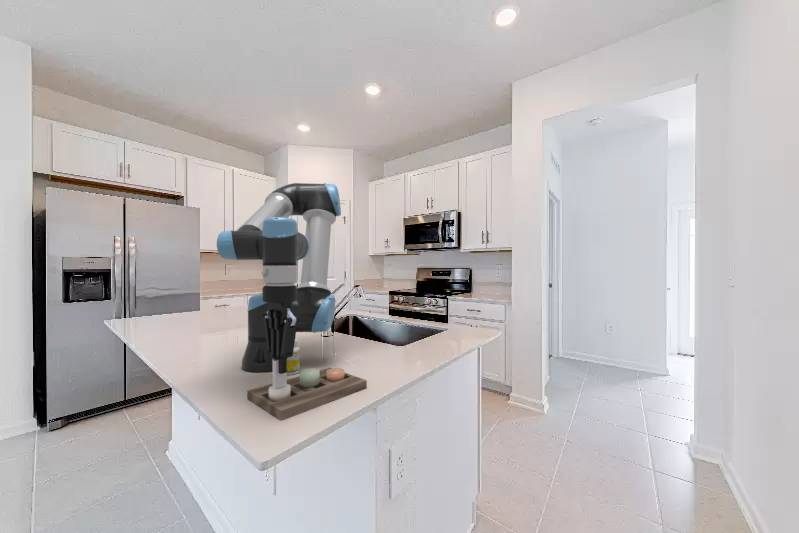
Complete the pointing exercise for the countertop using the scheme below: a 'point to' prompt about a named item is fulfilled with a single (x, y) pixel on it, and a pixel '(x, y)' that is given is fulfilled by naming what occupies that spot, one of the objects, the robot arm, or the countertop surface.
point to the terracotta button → (335, 374)
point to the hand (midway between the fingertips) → (279, 386)
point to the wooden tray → (305, 395)
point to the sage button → (309, 377)
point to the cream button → (279, 393)
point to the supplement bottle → (294, 361)
